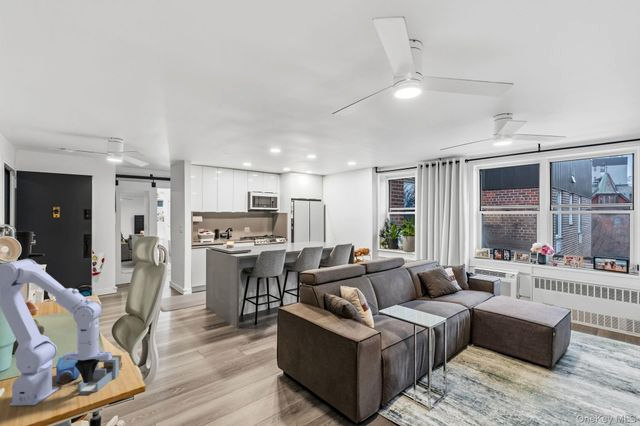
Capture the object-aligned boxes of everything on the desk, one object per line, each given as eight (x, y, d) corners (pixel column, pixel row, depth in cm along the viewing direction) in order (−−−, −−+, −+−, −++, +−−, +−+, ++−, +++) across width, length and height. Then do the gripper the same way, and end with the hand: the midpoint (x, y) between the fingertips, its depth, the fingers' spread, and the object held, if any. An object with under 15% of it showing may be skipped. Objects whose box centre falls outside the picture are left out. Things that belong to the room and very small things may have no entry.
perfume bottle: (80, 353, 118) (76, 367, 108) (80, 370, 118) (76, 385, 108) (59, 357, 115) (53, 371, 105) (59, 374, 115) (53, 390, 105)
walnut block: (114, 371, 115) (114, 360, 115) (103, 371, 115) (103, 360, 115) (121, 365, 119) (121, 355, 119) (110, 366, 119) (110, 355, 119)
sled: (104, 381, 110) (104, 369, 110) (93, 381, 110) (93, 369, 110) (122, 367, 120) (122, 356, 120) (111, 367, 120) (111, 356, 120)
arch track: (96, 394, 102) (96, 374, 102) (70, 395, 102) (71, 374, 102) (125, 370, 118) (125, 352, 118) (103, 370, 118) (103, 352, 118)
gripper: (118, 335, 109) (117, 375, 109) (74, 335, 108) (74, 375, 108) (104, 343, 102) (104, 386, 101) (58, 344, 101) (57, 386, 101)
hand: (87, 381), depth 104 cm, fingers closed
